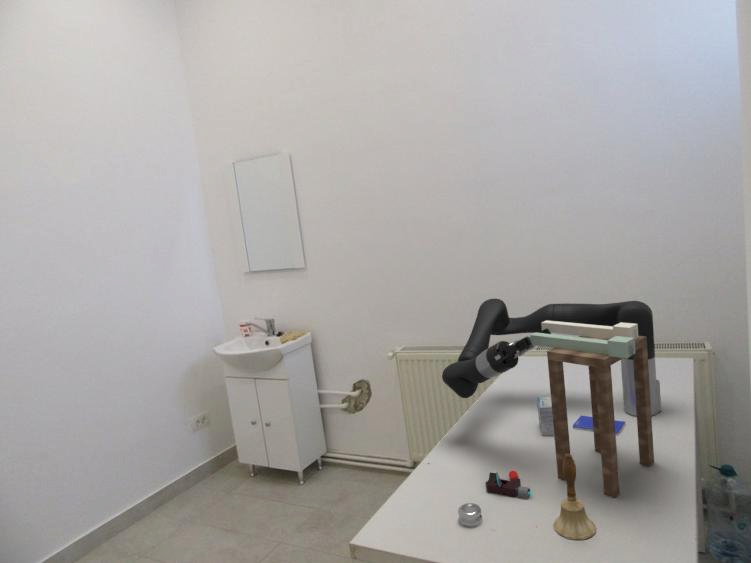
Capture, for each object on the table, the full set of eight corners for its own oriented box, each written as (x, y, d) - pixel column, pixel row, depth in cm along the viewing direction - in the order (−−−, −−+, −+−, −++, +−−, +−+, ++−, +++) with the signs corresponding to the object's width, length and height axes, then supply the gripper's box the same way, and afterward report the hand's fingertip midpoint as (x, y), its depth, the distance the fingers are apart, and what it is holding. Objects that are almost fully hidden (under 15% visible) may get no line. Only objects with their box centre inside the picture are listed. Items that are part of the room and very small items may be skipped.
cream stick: (540, 332, 141) (539, 319, 141) (548, 328, 144) (547, 316, 143) (630, 342, 123) (629, 327, 122) (638, 338, 125) (637, 323, 125)
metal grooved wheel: (484, 525, 114) (479, 512, 119) (483, 513, 113) (477, 500, 118) (461, 529, 114) (457, 515, 119) (460, 516, 113) (455, 503, 118)
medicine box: (558, 435, 150) (555, 406, 149) (541, 436, 151) (539, 407, 150) (554, 423, 158) (552, 396, 157) (539, 424, 159) (536, 397, 158)
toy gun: (532, 503, 120) (530, 483, 120) (481, 494, 126) (479, 475, 126) (542, 481, 128) (540, 463, 128) (494, 474, 135) (492, 456, 134)
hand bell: (545, 521, 112) (539, 451, 110) (580, 512, 114) (574, 442, 112) (568, 544, 104) (562, 469, 102) (605, 533, 106) (599, 459, 104)
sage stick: (529, 345, 130) (528, 331, 130) (538, 341, 133) (537, 327, 133) (626, 358, 112) (625, 342, 112) (635, 353, 115) (634, 337, 114)
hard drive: (572, 425, 153) (617, 432, 146) (581, 414, 160) (625, 420, 152) (572, 430, 154) (618, 437, 146) (581, 419, 160) (625, 426, 152)
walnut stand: (558, 478, 128) (546, 351, 124) (599, 447, 141) (590, 330, 136) (614, 498, 117) (604, 359, 113) (654, 462, 130) (646, 336, 125)
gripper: (519, 365, 145) (563, 342, 133) (486, 380, 136) (530, 357, 124) (505, 340, 147) (548, 316, 135) (472, 354, 138) (514, 329, 126)
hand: (539, 336), depth 130 cm, fingers open, 8 cm apart
